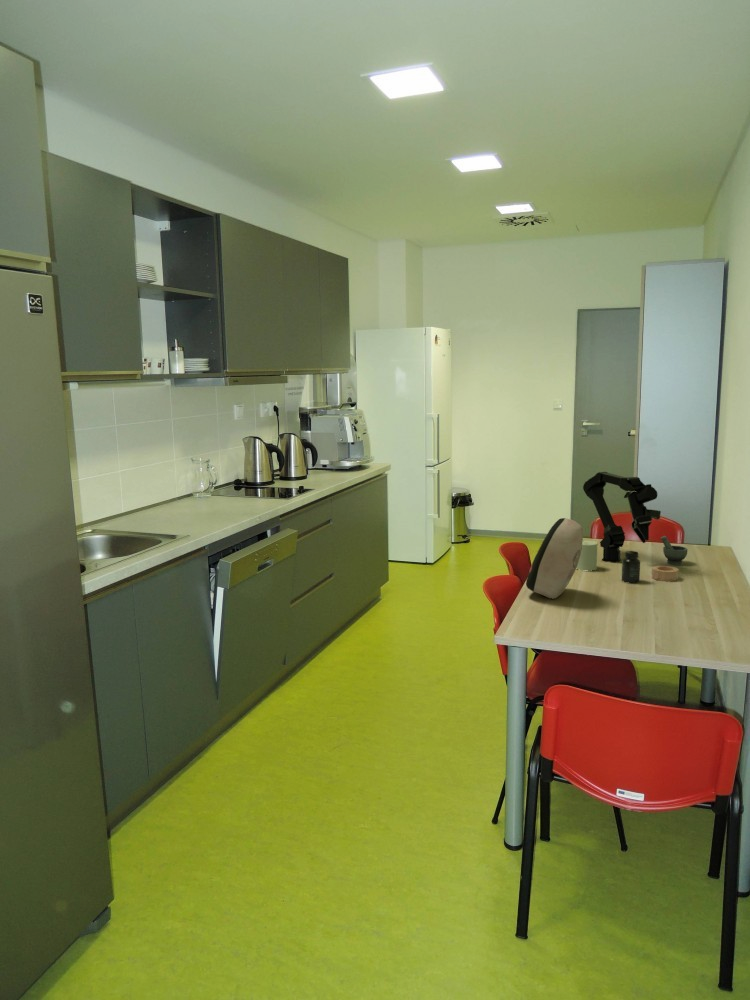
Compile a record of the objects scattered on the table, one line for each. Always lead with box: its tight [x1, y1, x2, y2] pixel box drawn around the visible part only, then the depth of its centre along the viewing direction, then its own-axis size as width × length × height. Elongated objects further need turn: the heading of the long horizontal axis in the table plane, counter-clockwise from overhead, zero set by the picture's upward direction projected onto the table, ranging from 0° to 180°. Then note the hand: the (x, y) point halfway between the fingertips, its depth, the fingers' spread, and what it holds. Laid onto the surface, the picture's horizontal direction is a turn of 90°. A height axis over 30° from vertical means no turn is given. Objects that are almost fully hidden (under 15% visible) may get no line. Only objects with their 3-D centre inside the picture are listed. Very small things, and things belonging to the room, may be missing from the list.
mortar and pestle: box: [660, 535, 688, 566], centre depth 317 cm, size 11×9×12 cm
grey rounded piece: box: [525, 517, 584, 600], centre depth 272 cm, size 22×20×30 cm
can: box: [576, 539, 599, 572], centre depth 310 cm, size 9×9×12 cm
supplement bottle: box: [621, 550, 641, 584], centre depth 290 cm, size 7×7×12 cm
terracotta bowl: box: [651, 565, 680, 582], centre depth 294 cm, size 10×10×4 cm
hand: (645, 541), depth 303 cm, fingers open, 9 cm apart
